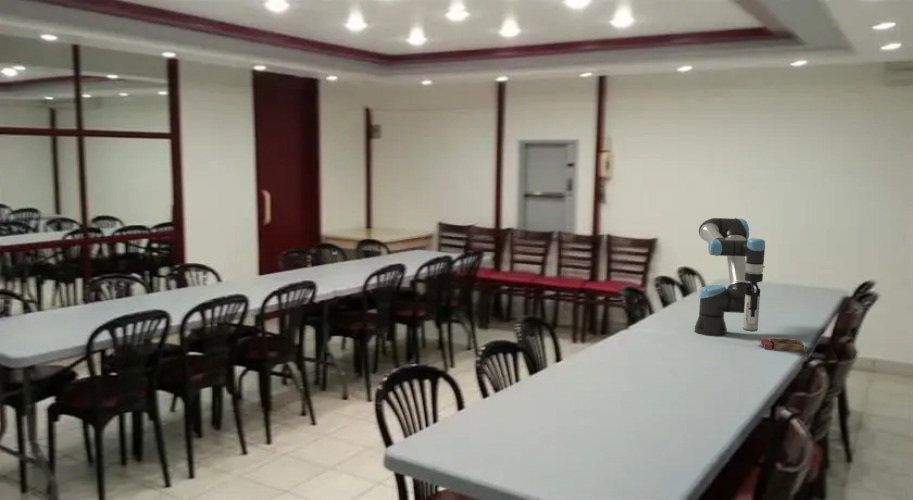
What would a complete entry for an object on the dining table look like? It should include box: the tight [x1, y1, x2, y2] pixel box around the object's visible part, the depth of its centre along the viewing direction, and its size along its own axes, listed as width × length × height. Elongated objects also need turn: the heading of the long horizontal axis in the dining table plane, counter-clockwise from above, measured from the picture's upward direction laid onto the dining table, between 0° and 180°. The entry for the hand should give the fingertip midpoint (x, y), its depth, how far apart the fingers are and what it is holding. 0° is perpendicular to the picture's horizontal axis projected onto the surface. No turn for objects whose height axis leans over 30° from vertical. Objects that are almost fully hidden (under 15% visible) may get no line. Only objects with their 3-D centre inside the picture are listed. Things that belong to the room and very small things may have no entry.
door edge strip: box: [760, 337, 773, 351], centre depth 327 cm, size 3×12×2 cm, turn 165°
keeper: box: [769, 337, 806, 353], centre depth 325 cm, size 13×13×3 cm
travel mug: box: [742, 287, 761, 332], centre depth 329 cm, size 6×7×20 cm
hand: (750, 321), depth 329 cm, fingers closed on travel mug, 6 cm apart
